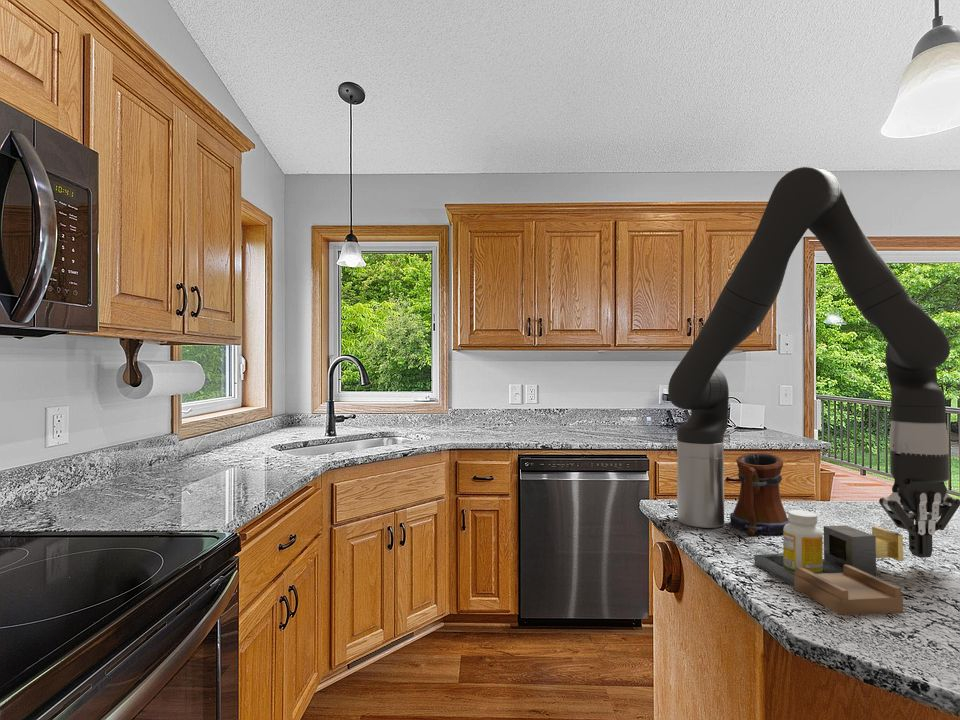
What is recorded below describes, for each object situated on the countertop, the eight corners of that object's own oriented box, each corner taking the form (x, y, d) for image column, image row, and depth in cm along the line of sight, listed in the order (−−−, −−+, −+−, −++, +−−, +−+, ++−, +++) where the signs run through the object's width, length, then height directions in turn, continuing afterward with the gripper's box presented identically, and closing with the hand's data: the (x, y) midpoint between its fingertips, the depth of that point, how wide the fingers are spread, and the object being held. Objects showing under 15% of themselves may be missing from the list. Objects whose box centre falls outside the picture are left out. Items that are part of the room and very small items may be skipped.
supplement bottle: (779, 574, 87) (778, 513, 87) (788, 565, 91) (787, 507, 91) (818, 583, 83) (817, 519, 83) (826, 573, 87) (825, 512, 87)
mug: (778, 547, 100) (777, 465, 100) (712, 536, 107) (712, 459, 108) (796, 526, 114) (795, 454, 114) (737, 517, 121) (736, 449, 121)
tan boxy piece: (843, 551, 90) (842, 527, 91) (876, 550, 91) (876, 526, 91) (867, 562, 85) (867, 536, 86) (903, 560, 86) (902, 535, 86)
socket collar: (754, 564, 91) (754, 554, 91) (810, 561, 92) (809, 552, 92) (795, 587, 81) (794, 577, 81) (857, 584, 82) (856, 574, 83)
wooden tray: (794, 588, 81) (794, 566, 81) (850, 586, 82) (850, 564, 82) (840, 615, 72) (840, 590, 72) (903, 612, 73) (902, 588, 73)
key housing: (824, 565, 91) (823, 526, 91) (846, 564, 91) (845, 525, 91) (852, 579, 85) (851, 536, 85) (876, 578, 85) (875, 535, 85)
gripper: (933, 445, 94) (935, 547, 94) (863, 447, 93) (864, 550, 92) (977, 452, 87) (980, 562, 86) (901, 453, 85) (904, 565, 85)
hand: (920, 556), depth 89 cm, fingers closed
